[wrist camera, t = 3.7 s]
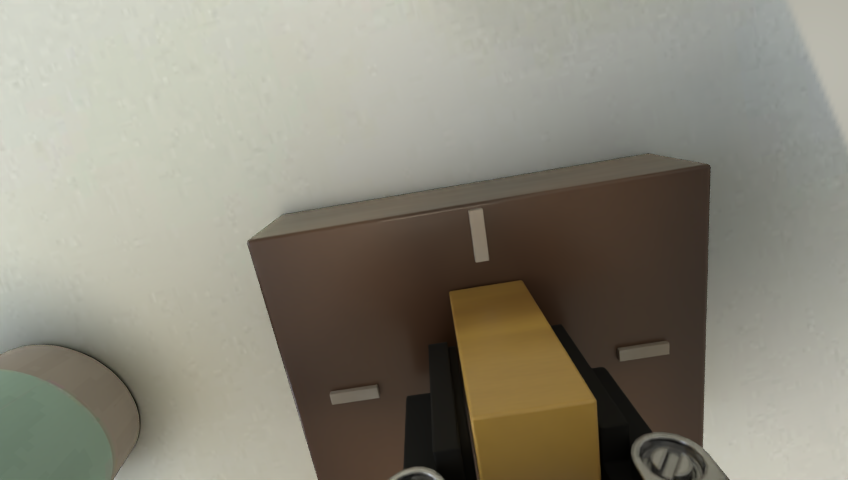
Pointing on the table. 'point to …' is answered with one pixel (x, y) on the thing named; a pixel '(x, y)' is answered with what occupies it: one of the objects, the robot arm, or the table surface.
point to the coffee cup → (62, 416)
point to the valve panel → (480, 266)
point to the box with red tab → (522, 389)
